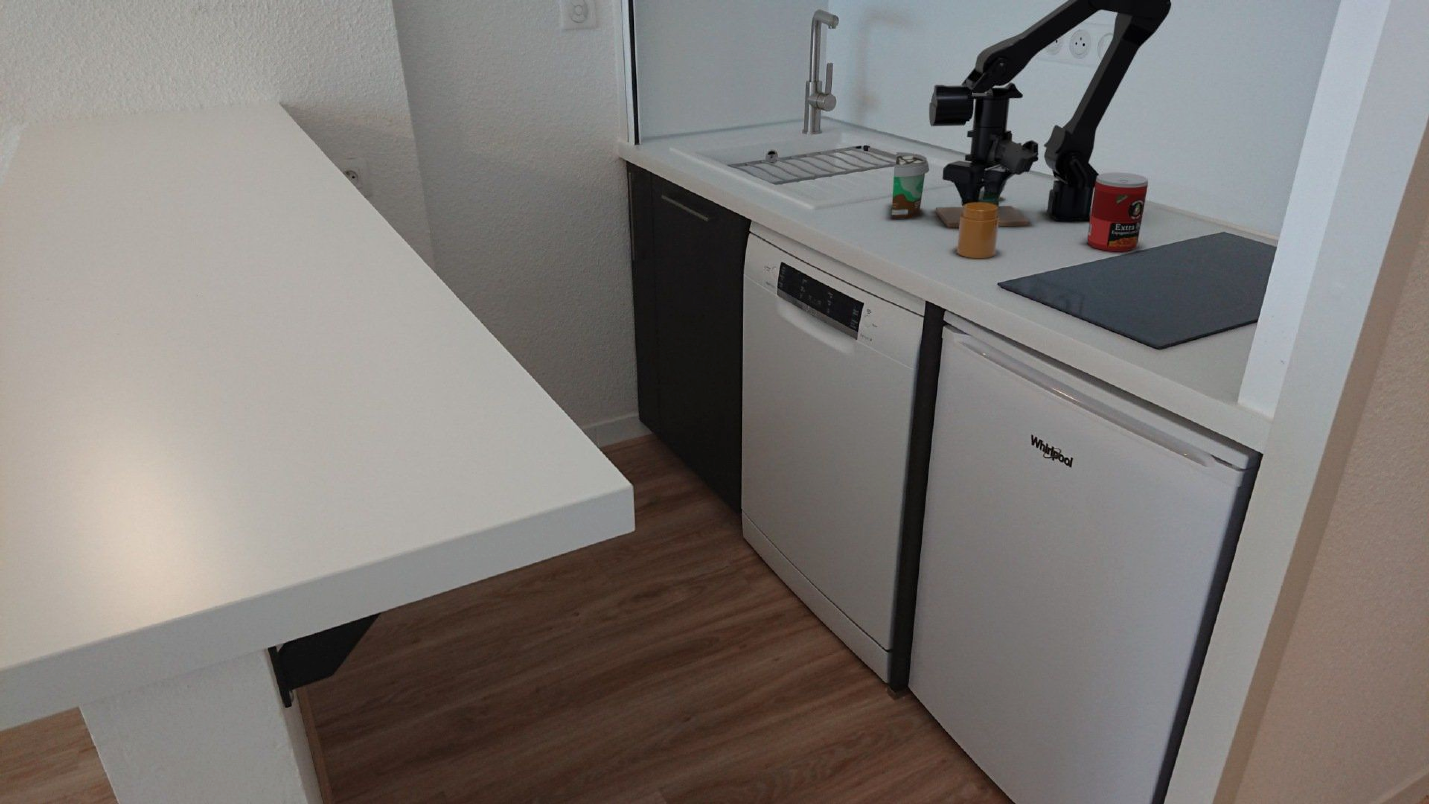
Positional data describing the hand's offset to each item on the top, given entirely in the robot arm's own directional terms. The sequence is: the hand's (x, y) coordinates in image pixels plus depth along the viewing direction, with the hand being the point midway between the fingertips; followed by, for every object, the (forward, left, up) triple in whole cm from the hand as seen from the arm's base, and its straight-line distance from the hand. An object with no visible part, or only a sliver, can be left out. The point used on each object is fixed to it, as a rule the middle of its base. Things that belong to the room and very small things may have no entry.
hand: (981, 213), depth 172 cm
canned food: (-17, +18, -1) cm, 25 cm away
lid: (0, 0, +3) cm, 3 cm away
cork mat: (0, 0, -1) cm, 1 cm away
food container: (+12, -5, -1) cm, 13 cm away
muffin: (-5, -14, -1) cm, 15 cm away
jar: (+6, +21, -1) cm, 22 cm away
